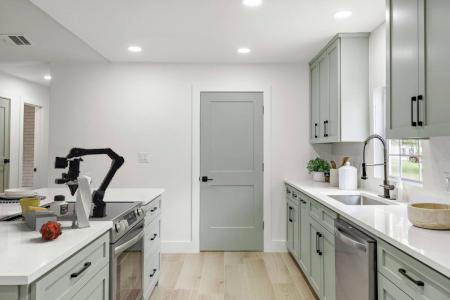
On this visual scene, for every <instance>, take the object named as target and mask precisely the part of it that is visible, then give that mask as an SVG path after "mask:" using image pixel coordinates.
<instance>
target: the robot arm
mask: <svg viewBox="0 0 450 300" xmlns="http://www.w3.org/2000/svg"><path fill="white" fill-rule="evenodd" d="M91 155H92V156H93V155H94V156H95V155H96V156H98V155H99V156H100V155H107V156H108V157H109V158H110V159H111V160H112V161H111V164H110V167H109V169H108V171H107V173H106V175H105V176H104V178H103V180H102V182H101V183H100V185H99V187H98V188H97V189H94V190H93V191H92V192H91V196H92V201H91V203H93V205H94V206H93V208H92V216H91V218H104V217H107V216H108V214H106V211H107V203H106V202H105V201H104V198H105V194H106V190H107V189H108V187H109V186H110V184H111V182H112V180H113V179H114V177H115V175H116V174H117V171H118V170H119V169H121V168H122V166H123V165H124V164H125V162H126V161H125V158H124V157H123V156H121V155H119V154H118V153H117V152H115V151H114V150H113V148H111V147H103V148H101V147H100V148H82V147H71V148H70V149H69V151H68V154H67V155H66V156H62V157H61V156H55V158H54V159H55V160H54V163H53V164H54V166H53V167H54V170H57V169H58V170H59V169H60V170H61V169H63V170H66V168H68V170H67V173H66V172H61V177H60V178H57V177H56V178H55V180H54V184H55V185H66V186H67V187H68V189H69V192H70V196H71V197H74V196H75V195H76V193H77V190H78V187H79V185H78V179H77V177H79V176H80V174H81V169H80V168H81V167H80V166H81V162H84V161H85V160H84V159H83V158H82V157H84V156H91ZM79 178H80V177H79ZM90 184H92V181H91V182H90Z"/></svg>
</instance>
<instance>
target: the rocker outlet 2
mask: <svg viewBox="0 0 450 300" xmlns="http://www.w3.org/2000/svg"><path fill="white" fill-rule="evenodd" d="M35 213H39V214H54V213H55V212H53V211H50V210H48V211H42V210H35Z"/></svg>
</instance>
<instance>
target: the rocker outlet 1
mask: <svg viewBox="0 0 450 300" xmlns="http://www.w3.org/2000/svg"><path fill="white" fill-rule="evenodd" d="M28 208H29V209H33V210H42V211H47V210H48V208H46V207H39V206H38V207H32V206H29V207H28Z"/></svg>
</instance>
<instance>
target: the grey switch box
mask: <svg viewBox="0 0 450 300" xmlns="http://www.w3.org/2000/svg"><path fill="white" fill-rule="evenodd" d="M47 211H49V210H48V209H47ZM48 221H51V222H52V221H56V222H57V223H58V216H57V215H56V214H39V213H35V210H32V211H25V217H24V224H25V225H26V226H28V227H29V228H30V229H32V230H33V231H34V232H40V230H41V227H42V225H43V224H46V223H47V222H48Z"/></svg>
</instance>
